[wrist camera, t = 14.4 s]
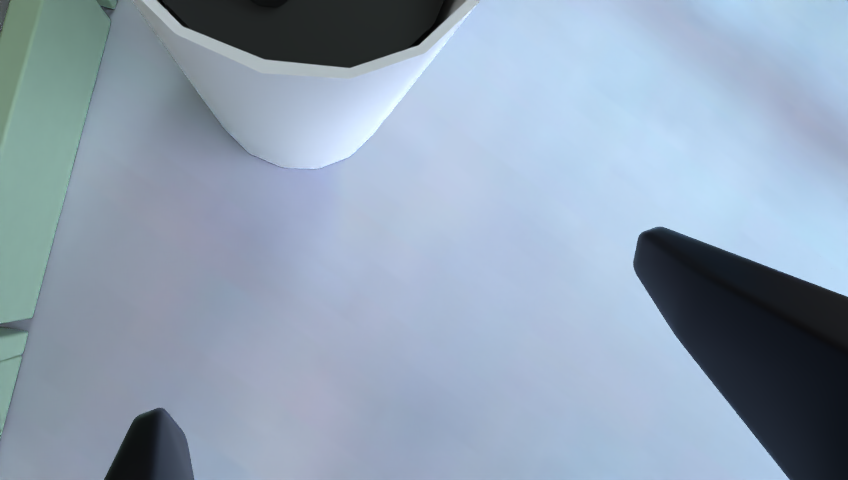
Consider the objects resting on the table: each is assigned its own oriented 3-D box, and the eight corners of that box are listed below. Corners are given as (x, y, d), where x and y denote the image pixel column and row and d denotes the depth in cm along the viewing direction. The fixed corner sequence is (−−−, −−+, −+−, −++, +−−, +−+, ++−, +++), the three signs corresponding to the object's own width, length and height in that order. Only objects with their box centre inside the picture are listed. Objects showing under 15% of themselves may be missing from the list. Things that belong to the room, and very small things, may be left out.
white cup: (271, 222, 18) (242, 162, 8) (148, 45, 17) (-41, -247, 8) (436, 117, 19) (579, -40, 10) (328, -49, 19) (363, -396, 9)
